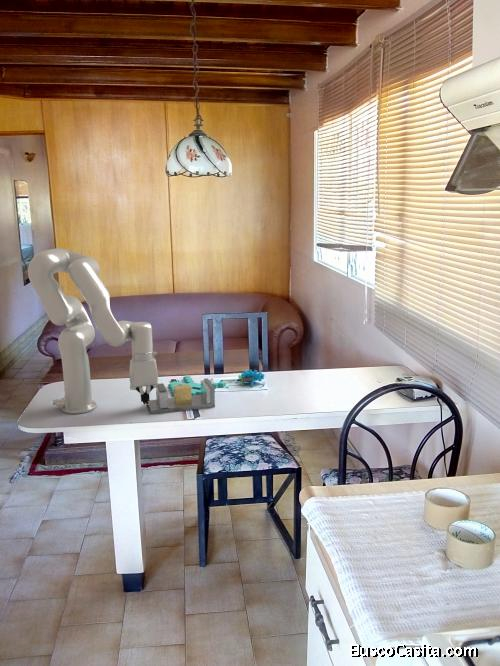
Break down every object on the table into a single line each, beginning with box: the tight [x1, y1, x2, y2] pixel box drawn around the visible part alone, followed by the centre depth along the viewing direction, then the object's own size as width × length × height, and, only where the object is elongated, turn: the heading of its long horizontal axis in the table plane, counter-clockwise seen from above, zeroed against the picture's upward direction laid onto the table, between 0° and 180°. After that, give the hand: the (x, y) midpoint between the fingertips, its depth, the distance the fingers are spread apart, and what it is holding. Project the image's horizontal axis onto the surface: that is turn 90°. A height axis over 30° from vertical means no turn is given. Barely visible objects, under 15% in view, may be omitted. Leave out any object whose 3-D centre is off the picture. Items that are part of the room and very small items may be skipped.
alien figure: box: [167, 375, 227, 397], centre depth 231 cm, size 20×2×20 cm
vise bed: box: [146, 377, 216, 415], centre depth 212 cm, size 24×11×8 cm, turn 108°
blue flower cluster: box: [238, 369, 265, 387], centre depth 235 cm, size 11×6×10 cm
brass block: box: [173, 384, 192, 404], centre depth 212 cm, size 6×4×6 cm, turn 108°
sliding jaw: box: [155, 382, 169, 409], centre depth 210 cm, size 3×10×7 cm, turn 18°
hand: (145, 403), depth 209 cm, fingers closed
